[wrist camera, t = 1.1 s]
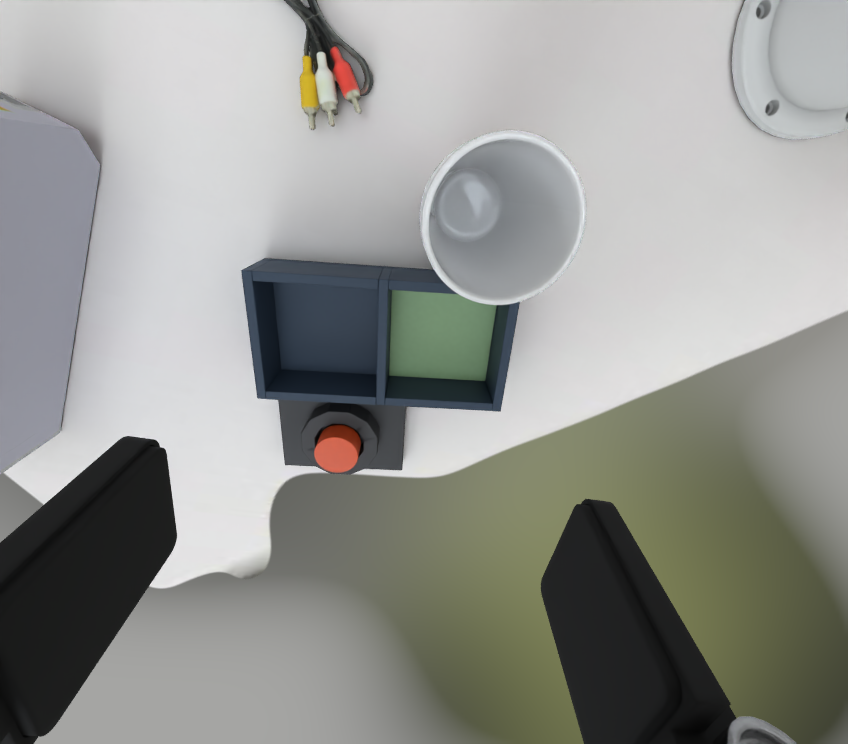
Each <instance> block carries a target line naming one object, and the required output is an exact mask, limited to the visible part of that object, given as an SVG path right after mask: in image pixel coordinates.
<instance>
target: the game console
mask: <svg viewBox="0 0 848 744" xmlns="http://www.w3.org/2000/svg"><path fill="white" fill-rule="evenodd" d="M100 166H101V165H100V164H99V162H98V160H97V159H96V157H95V156H94V154H93V152H92V151H91V149H90V147H89V146H88V144H87V143H86V141H85V139H84V138H83V136H82V135H81V133H80V131H79V130H78V129H76V128H74V127H72V126H70V125H68V124H66V123H64V122H62V121H60V120H58V119H56V118H54V117H52V116H50V115H48V114H46V113H44V112H42V111H40V110H38V109H36V108H34V107H32V106H30V105H28V104H26V103H24V102H22V101H20V100H18V99H16V98H13V97H11V96H9V95H7V94H5V93H3V92H1V91H0V474H2V473H3V472H4V471H6V470H7V469H9V468H10V467H12V466H13V465H14V464H16V463H17V462H19V461H20V460H21V459H23V458H24V457H26V456H27V455H29V454H30V453H31V452H33V451H34V450H36V449H37V448H39V447H40V446H41V445H43V444H44V443H46V442H47V441H49V440H50V439H51V438H53V437H54V436H56V435H57V434H59V433H60V430H61V422H62V415H63V408H64V402H65V395H66V389H67V382H68V376H69V369H70V363H71V356H72V349H73V343H74V336H75V330H76V323H77V317H78V310H79V303H80V297H81V290H82V284H83V277H84V271H85V264H86V257H87V251H88V244H89V238H90V231H91V225H92V218H93V212H94V205H95V198H96V192H97V185H98V179H99V172H100Z"/></svg>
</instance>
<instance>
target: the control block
mask: <svg viewBox="0 0 848 744" xmlns="http://www.w3.org/2000/svg"><path fill="white" fill-rule="evenodd" d="M279 410H280V420H281V430H282V440H283V450H284V460H285V465H299V466H316V467H318V468H320V469H322V470H324V471H326V472H328V473H331V474H353V473H355V472H357V471H360V470H362V469H385V470H402V464H403V446H404V429H405V411H406V406H391V405H370V404H351V403H332V402H313V401H294V400H279ZM337 424H340V425H346V426H348V427H351V428H352V429H354V430H355V431H356V432H357V433H358V435H359V437H360V440H361V447H360V451H359V456H358V460H357V463H356V464H355V466H354V467H353V468H351V469H350V470H348V471H345V472H340V473H335V472H330V471H327V470H325V469H323V468H322V467H321V466H320V465H319V464H318V463H317V461H316V459H315V456H314V451H315V447H316V445H317V442H318V440H319V437H320V434H321V433H322V431H323V430H324V429H326V428H327V427H329V426H332V425H337Z"/></svg>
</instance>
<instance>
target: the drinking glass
mask: <svg viewBox="0 0 848 744" xmlns="http://www.w3.org/2000/svg"><path fill="white" fill-rule="evenodd" d="M586 213H587V210H586V196H585V191H584V187H583V184H582V181H581V178H580V176H579V173H578V171H577V169H576V168H575V166H574V164H573V163H572V161H571V160H570V159H569V157H568V156H567V155H566V154H565V153H564V152H563V151H562V150H561V149H560V148H559V147H558V146H556V145H555V144H554V143H552V142H551V141H549V140H547V139H545V138H543V137H541V136H539V135H536V134H533V133H530V132H525V131H518V130H505V131H497V132H492V133H488V134H485V135H482V136H479V137H476V138H474V139H472V140H470V141H468V142H465V143H464V144H462V145H460V146H459V147H457V148H456V149H455V150H453V151H452V152H451V153H450V154H448V155H447V156H446V157H445V158H444V159H443V160H442V161H441V163H440V164H439V165H438V166H437V168H436V169H435V170H434V172H433V173H432V175H431V177H430V178H429V181H428V183H427V185H426V187H425V190H424V193H423V196H422V200H421V206H420V215H419V224H420V233H421V238H422V242H423V246H424V249H425V252H426V254H427V257H428V259H429V261H430V263H431V265H432V267H433V269H434V271H435V272H436V274H437V275H438V276H439V278H440V279H441V280H442V281H443V282H444V283H445V284H446V285H447V286H448V287H449V288H450V289H452V290H453V291H454V292H456V293H457V294H459V295H460V296H462V297H464V298H466V299H469V300H471V301H474V302H477V303H482V304H487V305H507V304H513V303H517V302H521V301H524V300H526V299H529V298H531V297H533V296H535V295H537V294H539V293H540V292H542V291H544V290H545V289H546V288H548V287H549V286H551V285H552V284H553V283H554V282H555V281H556V280H557V279H558V278H559V277H560V276H561V275H562V274H563V273H564V271H565V270H566V269H567V268H568V266H569V265H570V263H571V262H572V260H573V258H574V256H575V255H576V253H577V251H578V248H579V246H580V243H581V240H582V238H583V234H584V230H585V224H586Z"/></svg>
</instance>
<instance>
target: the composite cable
mask: <svg viewBox="0 0 848 744" xmlns="http://www.w3.org/2000/svg"><path fill="white" fill-rule="evenodd" d="M284 1H286V3H287V4H288V5H290V6H291V7H292V8H293V10H294V11H295V12H296V13H297V14H298V15H299V16H300V17H301V18H302V19H303V21H304V22H305V24H306V29H307V33H306V40H305V45H304V54H305V56H303V57H302V58H303V73H302V74H301V76H300V89H301V105H302V108H303V109H304V112H305V113H306V114H308V116H309V128H310V129H311V130H314V129H315V128H316V126H315V116H316V113H317V111H318V109H319V108H320V105H321V106H322V110H323V111H324V112H326V113H327V114H328V120H329V125H330V126H332V127H334V125H335V124H334V116H333V114H334V115H337V114H338V113H337V108H336V105H337V104H338V100H337V94H336V92H337V88H339V87H340V90H341V92H342V94H343V97H344V98H345V99H346V100H348V101H350V102H351V103H353V105H354V109H355V111H356V112H357V113H358V114H361V109H360V106H359V104H358V100H359V99H360V96H365V95H367V94H368V93H369V92H370V90H371V87H372V85H373V76H372V73H371V71H370V69H369V67H368V65H367V63H366V61H365V60H364V59H363V58H362V57H361V56H360V55H359V54H358V53H357V52H356V51H355V50H354V49H352V48H351V47H350V46H349V45H347V44H346V43H345V42H344V41H343V40H342V39H340V37H339V36H337V35H336V34H335V32H334V31H333V30H332V29H331V28H330V26H329V25H328V24H327V22H326V20H325V19H324V17H323V15H322V13H321V11H320V9H319V7H318V4H317V1H316V0H308V3H309V6H310V7H309V8H307V7H305V6H304V5H303V3H302V2H301V1H300V0H284ZM334 42H336V43H337V44H339V45H341V46H342V47H343V48H344V49H346V50H347V51H348V52H349V53H350V54H351V55H352V56H353V57H354V58H355V59H356V60H357V61H358V62H359V63H360V65H361V67H362V70H363V73H364V76H365V82H364V86H363V88H362V89H361V90H360V89H359V87H358V84H357V81H356V79H355V76H354V74H353V71H352V69H351V66H350V64H349V63H348V62H346V61H345V60H344V59H343V58H342V55H341V53H340V51H339V49H338V47H335V45H334ZM309 46H310V48H309ZM309 52H310V57H309ZM313 65H314V69H315V73H316V74H314V72H313Z"/></svg>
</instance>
